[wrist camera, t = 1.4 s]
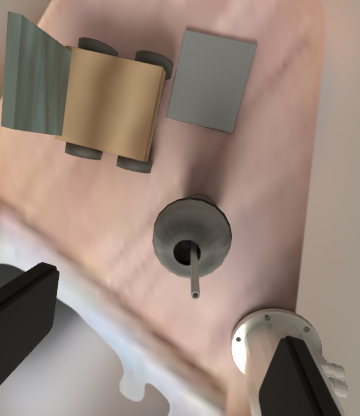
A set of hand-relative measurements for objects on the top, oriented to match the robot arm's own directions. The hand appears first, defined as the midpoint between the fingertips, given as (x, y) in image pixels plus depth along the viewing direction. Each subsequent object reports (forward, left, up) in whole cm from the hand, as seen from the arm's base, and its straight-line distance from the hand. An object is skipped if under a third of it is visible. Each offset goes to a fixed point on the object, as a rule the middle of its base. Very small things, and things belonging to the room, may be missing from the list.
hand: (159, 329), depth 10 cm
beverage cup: (0, 0, -24) cm, 24 cm away
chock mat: (+3, -16, -24) cm, 29 cm away
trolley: (+13, -10, -24) cm, 29 cm away
